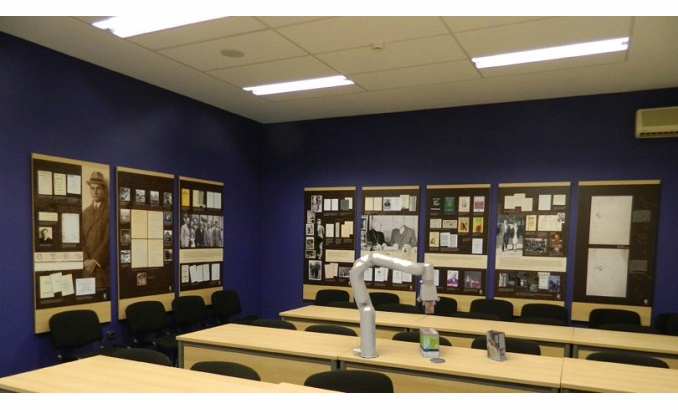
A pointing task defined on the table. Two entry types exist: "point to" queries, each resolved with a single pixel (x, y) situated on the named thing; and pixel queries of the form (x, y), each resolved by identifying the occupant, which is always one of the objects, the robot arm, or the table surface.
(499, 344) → the coffee box
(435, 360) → the coaster
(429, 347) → the tea box
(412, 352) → the table surface
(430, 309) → the block
